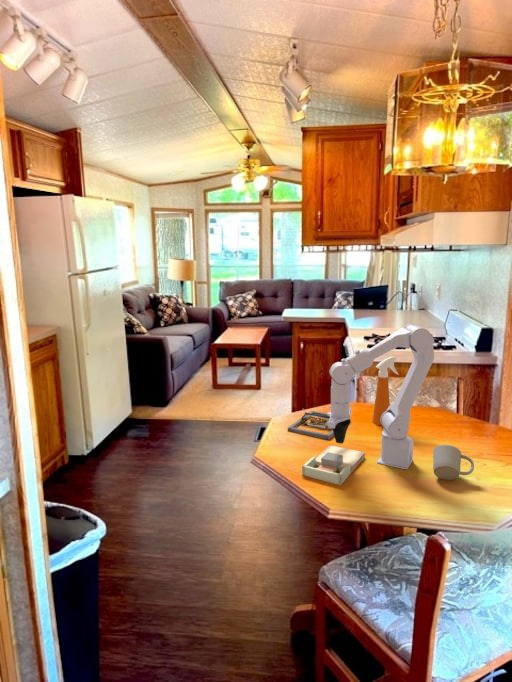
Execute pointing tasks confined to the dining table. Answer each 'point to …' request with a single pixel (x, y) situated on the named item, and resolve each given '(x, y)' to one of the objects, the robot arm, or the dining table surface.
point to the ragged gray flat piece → (316, 419)
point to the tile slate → (332, 460)
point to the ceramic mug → (449, 462)
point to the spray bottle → (383, 389)
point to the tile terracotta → (327, 468)
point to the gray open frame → (316, 434)
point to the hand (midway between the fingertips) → (339, 442)
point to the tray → (324, 472)
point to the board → (348, 457)
